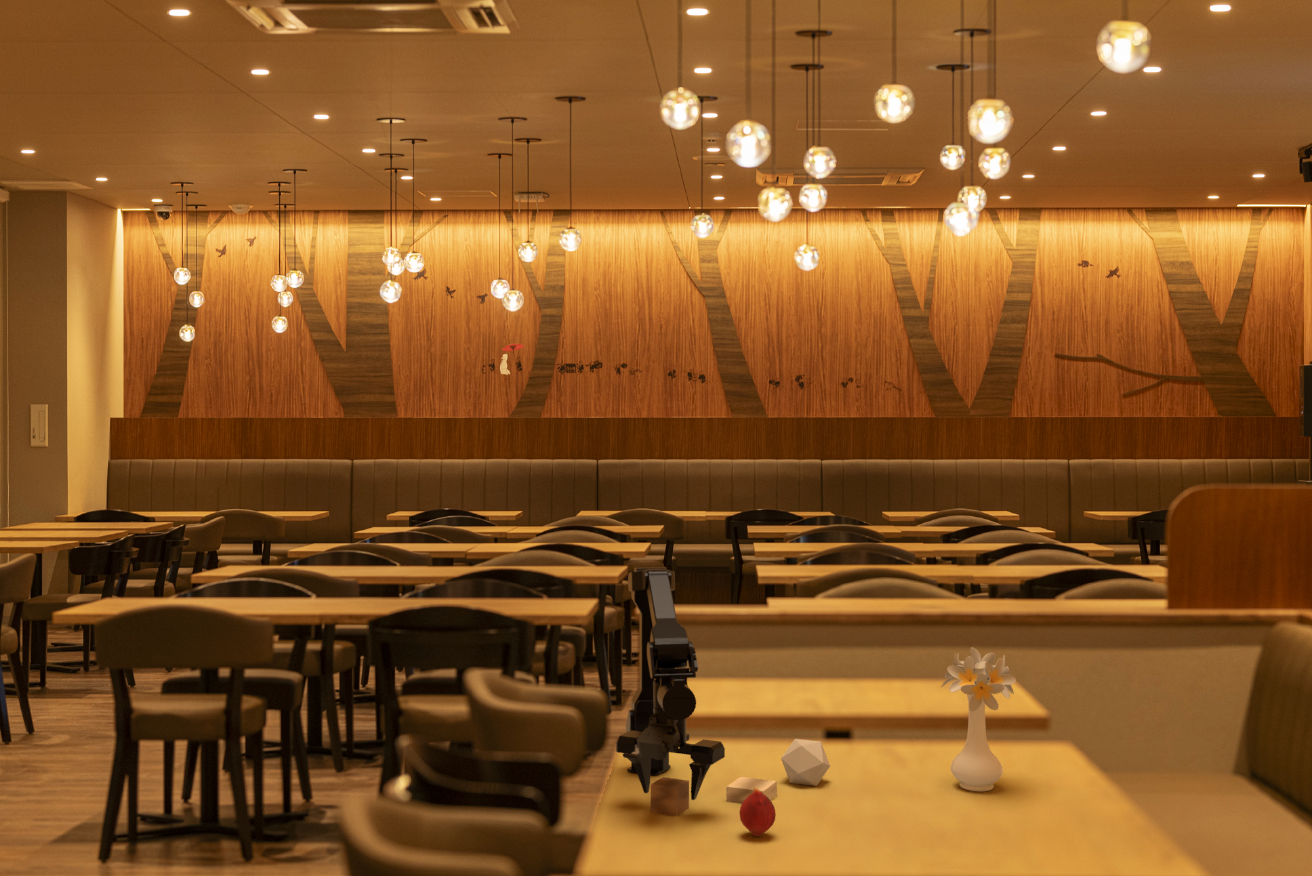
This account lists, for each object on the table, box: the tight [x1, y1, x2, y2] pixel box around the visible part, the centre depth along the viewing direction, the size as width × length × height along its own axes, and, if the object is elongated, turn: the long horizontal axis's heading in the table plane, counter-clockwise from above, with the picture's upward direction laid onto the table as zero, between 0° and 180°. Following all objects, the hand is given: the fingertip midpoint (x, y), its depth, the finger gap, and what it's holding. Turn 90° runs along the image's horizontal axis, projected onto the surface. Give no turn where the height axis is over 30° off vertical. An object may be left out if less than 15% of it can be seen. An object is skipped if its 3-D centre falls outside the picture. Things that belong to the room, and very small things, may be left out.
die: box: [780, 738, 831, 787], centre depth 242 cm, size 8×9×10 cm
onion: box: [739, 787, 777, 838], centre depth 211 cm, size 6×6×8 cm
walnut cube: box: [650, 776, 690, 817], centre depth 225 cm, size 5×5×5 cm
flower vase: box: [940, 646, 1017, 793], centre depth 238 cm, size 13×18×25 cm
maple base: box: [725, 776, 778, 804], centre depth 232 cm, size 7×7×3 cm
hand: (669, 796), depth 225 cm, fingers open, 9 cm apart
